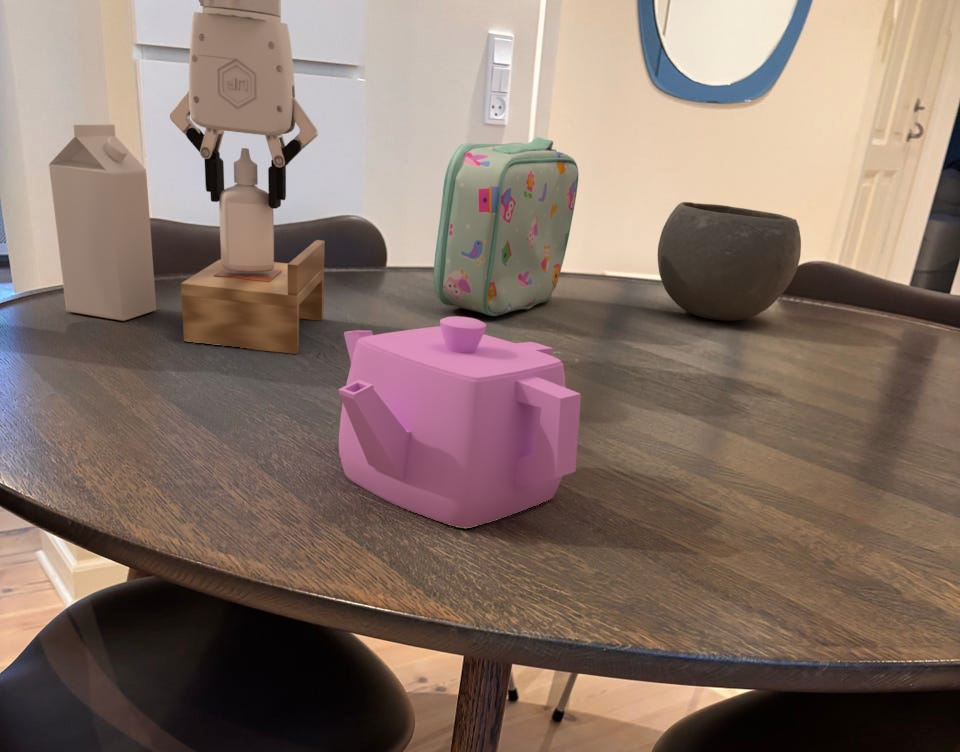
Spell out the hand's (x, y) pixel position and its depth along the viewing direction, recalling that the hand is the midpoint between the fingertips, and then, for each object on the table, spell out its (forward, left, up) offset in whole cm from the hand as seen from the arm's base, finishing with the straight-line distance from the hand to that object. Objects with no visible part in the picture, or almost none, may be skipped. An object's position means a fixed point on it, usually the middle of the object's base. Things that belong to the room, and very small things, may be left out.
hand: (246, 201), depth 100 cm
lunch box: (+29, +29, -13) cm, 43 cm away
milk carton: (-16, +1, -13) cm, 21 cm away
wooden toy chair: (+1, 0, -13) cm, 13 cm away
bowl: (+62, +38, -13) cm, 74 cm away
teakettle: (+24, -43, -13) cm, 51 cm away
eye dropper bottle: (0, 0, -7) cm, 7 cm away
